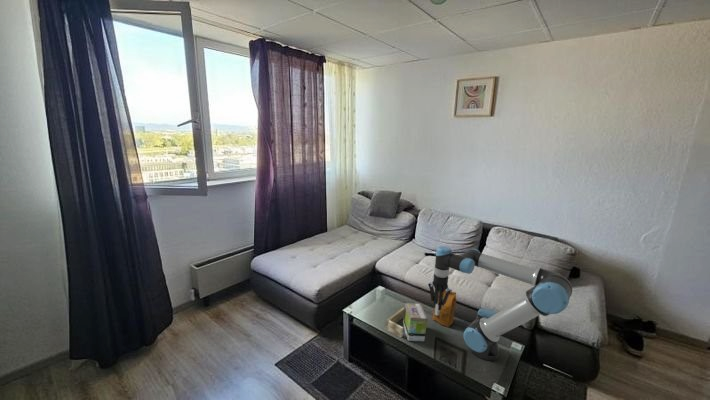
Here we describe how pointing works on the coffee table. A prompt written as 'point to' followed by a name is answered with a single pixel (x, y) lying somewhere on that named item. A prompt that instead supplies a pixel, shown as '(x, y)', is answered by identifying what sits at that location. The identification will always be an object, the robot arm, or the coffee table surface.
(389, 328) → the birch corner fence
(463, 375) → the coffee table surface
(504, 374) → the coffee table surface
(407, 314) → the tea box
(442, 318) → the coffee package
